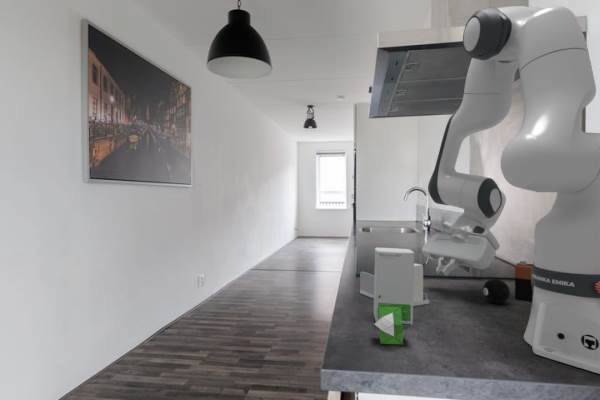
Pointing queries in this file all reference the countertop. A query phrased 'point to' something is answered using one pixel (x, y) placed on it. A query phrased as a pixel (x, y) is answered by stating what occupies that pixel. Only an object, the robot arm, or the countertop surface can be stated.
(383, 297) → the skincare box
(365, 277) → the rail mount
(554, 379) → the countertop surface
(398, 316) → the geometric puzzle
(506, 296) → the billiard ball
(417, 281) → the block
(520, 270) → the battery
